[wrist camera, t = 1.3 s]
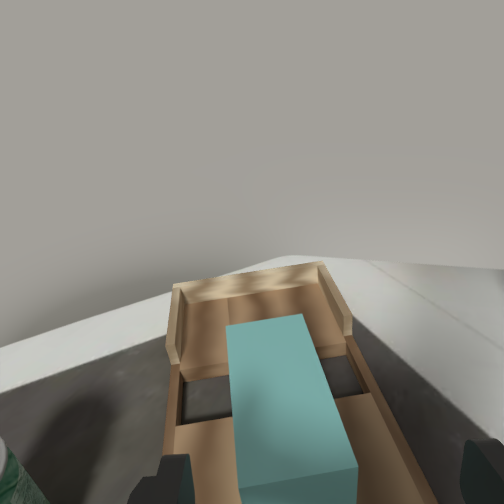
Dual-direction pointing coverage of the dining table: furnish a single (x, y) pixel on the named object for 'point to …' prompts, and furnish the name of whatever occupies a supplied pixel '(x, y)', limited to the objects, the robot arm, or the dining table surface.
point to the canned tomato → (16, 481)
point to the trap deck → (326, 345)
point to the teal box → (286, 418)
